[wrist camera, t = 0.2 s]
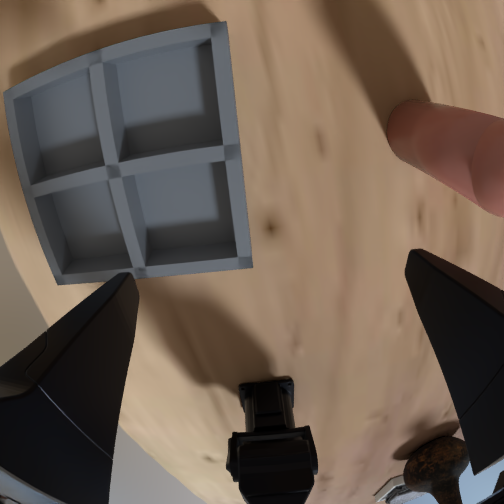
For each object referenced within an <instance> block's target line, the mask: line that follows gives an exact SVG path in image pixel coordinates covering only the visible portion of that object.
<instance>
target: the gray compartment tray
mask: <svg viewBox="0 0 504 504" xmlns="http://www.w3.org/2000/svg"><path fill="white" fill-rule="evenodd" d="M3 96H4V104H5V111H6V117H7V123H8V129H9V135H10V140H11V145H12V149H13V154H14V158H15V163H16V167H17V171H18V175H19V179H20V182H21V186H22V190H23V193H24V196H25V200H26V203H27V206H28V209H29V213H30V216H31V219H32V222H33V224H34V227H35V230H36V233H37V236H38V238H39V241H40V244H41V246H42V249H43V252H44V254H45V257H46V259H47V262H48V264H49V266H50V269H51V271H52V273H53V276H54V278H55V280H56V283H57V285H68V284H81V283H93V282H105V281H109V280H110V279H111V278H113V277H114V276H115V275H117V274H118V273H120V272H131V273H132V275H133V277H134V279H140V278H152V277H163V276H173V275H184V274H195V273H205V272H215V271H225V270H236V269H245V268H253V262H252V250H251V240H250V231H249V222H248V213H247V203H246V194H245V185H244V176H243V166H242V157H241V148H240V139H239V129H238V120H237V111H236V101H235V92H234V83H233V74H232V64H231V55H230V46H229V36H228V28H227V22H226V21H224V22H215V23H208V24H201V25H195V26H189V27H183V28H178V29H173V30H168V31H163V32H159V33H155V34H150V35H146V36H142V37H139V38H135V39H131V40H128V41H124V42H121V43H117V44H114V45H111V46H108V47H105V48H102V49H99V50H96V51H93V52H90V53H87V54H85V55H82V56H79V57H77V58H74V59H72V60H69V61H67V62H64V63H62V64H59V65H57V66H55V67H52V68H50V69H48V70H46V71H44V72H41V73H39V74H37V75H35V76H33V77H31V78H29V79H27V80H25V81H23V82H21V83H19V84H17V85H15V86H13V87H12V88H10V89H8V90H6V91H4V92H3Z"/></svg>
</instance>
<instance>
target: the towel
mask: <svg viewBox="0 0 504 504" xmlns="http://www.w3.org/2000/svg"><path fill="white" fill-rule="evenodd" d="M426 493H427V492H414V491H412V490H410V489H409V488H408V487H407V486H406V485H405V484H402V485H399V486H396V487H395V488H394V489H393V490H391V491H390V492H389V493H388V494H387V495H386V496H387V497H386V501H385V502H386V503H387V504H388V503H389V504H402V503H405V502H407V501H410V500H413V499H415V498H418V497H420V496H422V495H424V494H426Z"/></svg>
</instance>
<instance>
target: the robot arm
mask: <svg viewBox="0 0 504 504" xmlns="http://www.w3.org/2000/svg"><path fill="white" fill-rule="evenodd" d="M405 278H406V280H407V283H408V286H409V289H410V291H411V294H412V297H413V300H414V303H415V306H416V309H417V312H418V314H419V317H420V319H421V321H422V323H423V326H424V328H425V330H426V333H427V335H428V337H429V340H430V342H431V344H432V347H433V349H434V352H435V354H436V357H437V359H438V362H439V364H440V367H441V370H442V372H443V375H444V378H445V380H446V383H447V386H448V389H449V392H450V395H451V397H452V400H453V403H454V406H455V409H456V413H457V416H458V419H460V420H459V423H460V426H461V429H462V433H463V436H464V440H465V443H466V447H467V451H468V455H469V459H470V463H471V467H472V471H473V474H474V475H477V474H479V473H480V472H482V471H484V470H486V469H487V468H489V467H491V466H493V465H494V464H496V463H498V462H499V461H501V460H503V459H504V291H503V290H500V289H499V288H498V287H496V286H494V285H492V284H490V283H488V282H487V281H485V280H483V279H481V278H479V277H477V276H475V275H473V274H472V273H470V272H468V271H466V270H464V269H462V268H460V267H458V266H456V265H454V264H452V263H450V262H448V261H446V260H444V259H442V258H440V257H438V256H436V255H434V254H432V253H430V252H428V251H425V250H423V249H412V250H411V251H410V252H409V255H408V259H407V263H406V267H405ZM138 306H139V292H138V289H137V286H136V283H135V280H134V277H133V275H132V273H131V272H120V273H118V274H117V275H115V276H114V277H113V278H111V279H110V280H109V281H107V282H106V283H105V284H103V285H102V286H101V287H100V288H98V289H97V290H96V291H94V292H93V293H92V294H91V295H89V296H88V297H87V298H85V299H84V300H83V301H82V302H80V303H79V304H78V305H77V306H75V307H74V308H73V309H72V310H70V311H69V312H68V313H67V314H66V315H64V316H63V317H62V318H61V319H59V320H58V321H57V322H56V323H55V324H53V325H52V326H51V327H50V328H49V329H47V332H46V331H45V332H44V333H42V334H41V335H40V336H39V337H38V338H37V339H35V340H34V341H33V342H32V343H30V344H29V345H28V346H27V347H26V348H24V349H23V350H22V351H20V352H19V353H18V354H16V355H15V356H14V357H13V358H11V359H10V360H9V361H7V362H6V363H5V364H3V365H2V366H1V367H0V504H109V492H110V482H111V472H112V464H113V460H112V459H113V454H114V447H115V440H116V433H117V426H118V420H119V414H120V408H121V403H122V397H123V392H124V386H125V381H126V376H127V371H128V366H129V362H130V357H131V352H132V348H133V343H134V338H135V330H136V321H137V313H138ZM239 393H240V397H241V402H242V406H243V410H244V413H245V424H246V432H239V433H237V432H232V437H231V438H229V439H228V456H227V462H226V470H228V471H229V472H230V473H231V476H232V477H233V481H234V482H239V490H240V492H241V495H242V497H243V499H244V501H245V502H246V503H247V504H305V502H306V500H307V498H308V496H309V494H310V492H311V490H312V487H313V485H314V475H317V473H318V459H317V453H316V448H315V445H314V441H313V437H312V434H311V430H310V426H309V425H308V426H304V427H298V428H295V422H294V416H293V409H292V408H293V407H294V381H293V380H292V379H288V380H279V381H270V382H260V383H249V384H240V385H239ZM477 504H504V471H502V472H501V473H500V475H499V478H498V480H497V483H496V486H495V489H494V491H493V494H492V495H491V496H489V497H487V498H486V499H484V500H483V501H481V502H479V503H477Z"/></svg>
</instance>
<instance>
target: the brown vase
mask: <svg viewBox="0 0 504 504" xmlns="http://www.w3.org/2000/svg"><path fill="white" fill-rule="evenodd" d="M469 461H470V459H469V455H468V451H467V447H466V443H465V441H463V440H461V439H459V438H456V437H451V436H447V437H442V438H439V439H436V440H434V441H432V442H430V443H428V444H426V445H424V446H423V447H421V448H420V449H418V450H417V451H416V452H415V453H414V454H413V455H412V456H411V457H410V458H409V459H408V461H407V463H406V465H405V468H404V473H403V479H404V483H405V485H406V486H407V487H408V488H409V489H410V490H412V491H414V492H427V493H430V494H431V495H433V496H434V498H435V499H436V500H437V502H438V503H439V504H462V500H461V495H460V491H459V477H460V475H461V473H463V471H464V470H465V469H466V467H467V466H468V464H469Z"/></svg>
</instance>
